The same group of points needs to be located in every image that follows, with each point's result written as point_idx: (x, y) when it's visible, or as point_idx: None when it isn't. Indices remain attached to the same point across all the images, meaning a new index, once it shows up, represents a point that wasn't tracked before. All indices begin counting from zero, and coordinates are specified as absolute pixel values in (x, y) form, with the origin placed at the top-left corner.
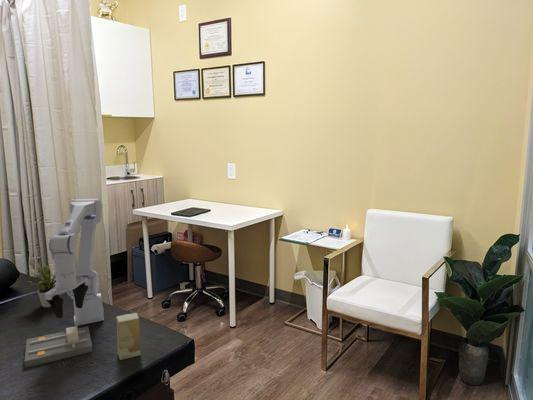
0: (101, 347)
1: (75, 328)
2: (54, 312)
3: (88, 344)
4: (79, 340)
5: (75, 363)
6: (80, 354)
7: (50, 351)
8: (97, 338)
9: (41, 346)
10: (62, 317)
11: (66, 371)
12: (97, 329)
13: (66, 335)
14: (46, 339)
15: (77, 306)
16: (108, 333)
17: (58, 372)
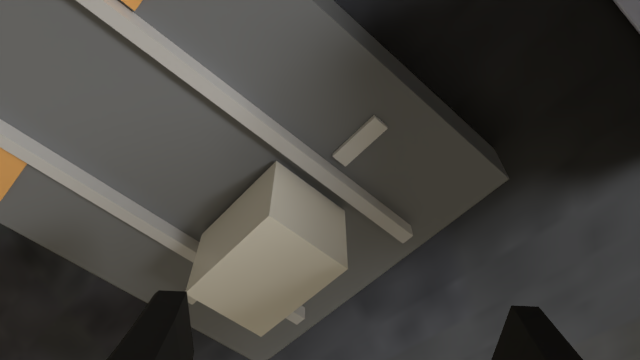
0: (324, 341)
1: (300, 287)
2: (118, 347)
3: (263, 343)
4: None
5: (129, 328)
6: None
7: (56, 202)
8: (414, 264)
9: (52, 72)
10: (192, 352)
11: (52, 337)
12: (545, 183)
13: (284, 151)
14: (133, 42)
15: (510, 339)
16: (496, 282)
17: (18, 313)
